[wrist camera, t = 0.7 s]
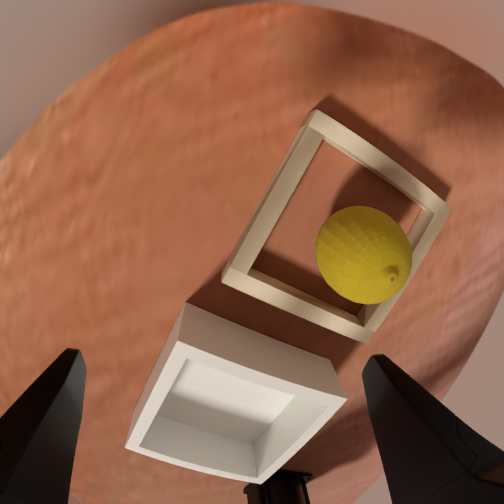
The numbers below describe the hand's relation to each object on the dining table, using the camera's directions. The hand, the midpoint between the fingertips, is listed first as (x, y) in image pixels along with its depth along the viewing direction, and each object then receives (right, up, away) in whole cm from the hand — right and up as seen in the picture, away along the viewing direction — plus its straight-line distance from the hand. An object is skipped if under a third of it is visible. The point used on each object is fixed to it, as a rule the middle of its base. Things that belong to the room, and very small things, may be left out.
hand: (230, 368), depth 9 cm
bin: (-2, -8, +17) cm, 19 cm away
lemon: (+7, +5, +14) cm, 16 cm away
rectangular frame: (+7, +5, +14) cm, 16 cm away
